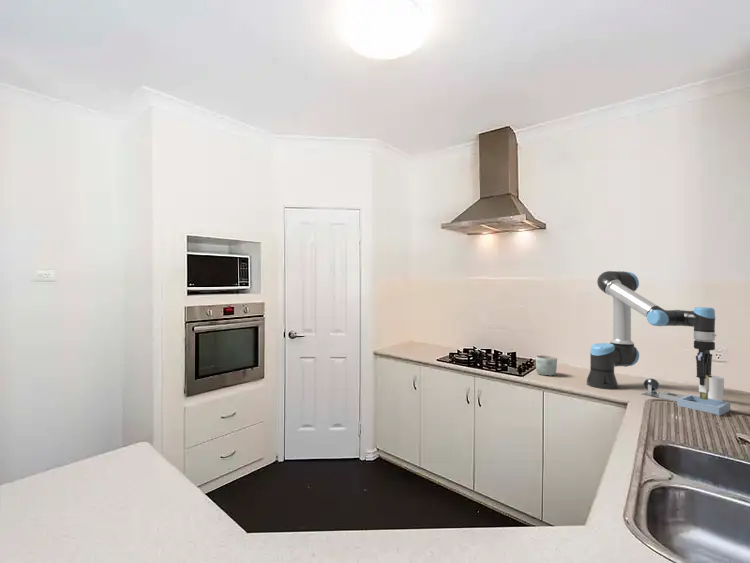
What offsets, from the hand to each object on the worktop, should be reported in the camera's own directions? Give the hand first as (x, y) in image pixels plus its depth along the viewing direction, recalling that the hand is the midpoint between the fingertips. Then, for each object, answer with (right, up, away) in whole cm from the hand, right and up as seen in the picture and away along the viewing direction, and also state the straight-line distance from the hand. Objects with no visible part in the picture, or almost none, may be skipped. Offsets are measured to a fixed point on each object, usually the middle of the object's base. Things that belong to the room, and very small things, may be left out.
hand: (703, 391), depth 180 cm
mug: (+16, -9, +14) cm, 23 cm away
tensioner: (-6, -8, +16) cm, 19 cm away
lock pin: (0, -3, 0) cm, 3 cm away
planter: (-44, -8, +65) cm, 79 cm away
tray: (0, -8, 0) cm, 8 cm away
